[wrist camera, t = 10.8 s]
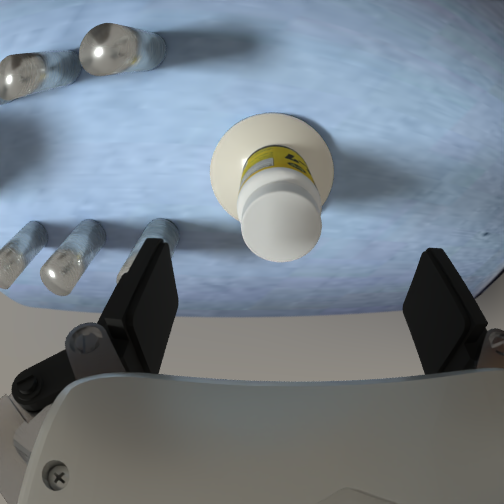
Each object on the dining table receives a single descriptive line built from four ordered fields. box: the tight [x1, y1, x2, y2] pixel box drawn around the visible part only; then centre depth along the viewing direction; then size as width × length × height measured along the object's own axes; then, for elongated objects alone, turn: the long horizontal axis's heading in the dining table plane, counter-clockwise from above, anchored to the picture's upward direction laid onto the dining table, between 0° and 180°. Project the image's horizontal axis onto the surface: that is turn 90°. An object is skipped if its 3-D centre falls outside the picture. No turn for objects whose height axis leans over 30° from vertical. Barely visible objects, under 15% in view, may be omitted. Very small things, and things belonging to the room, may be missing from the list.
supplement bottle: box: [237, 144, 322, 262], centre depth 19 cm, size 5×5×8 cm
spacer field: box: [0, 23, 179, 296], centre depth 20 cm, size 17×18×7 cm
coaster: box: [210, 113, 334, 221], centre depth 23 cm, size 9×9×1 cm
